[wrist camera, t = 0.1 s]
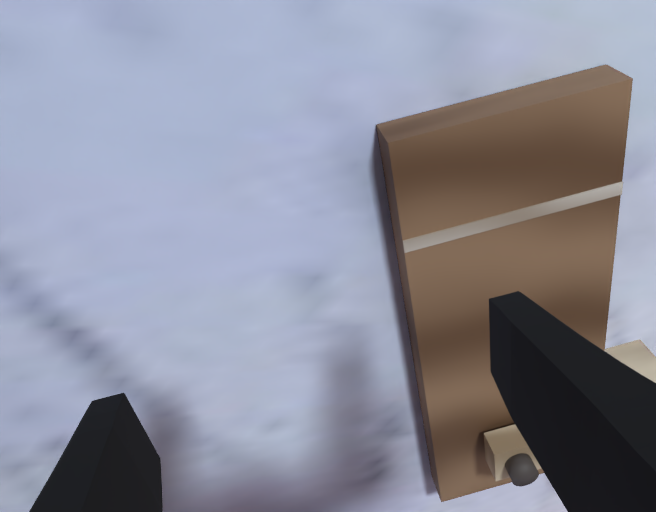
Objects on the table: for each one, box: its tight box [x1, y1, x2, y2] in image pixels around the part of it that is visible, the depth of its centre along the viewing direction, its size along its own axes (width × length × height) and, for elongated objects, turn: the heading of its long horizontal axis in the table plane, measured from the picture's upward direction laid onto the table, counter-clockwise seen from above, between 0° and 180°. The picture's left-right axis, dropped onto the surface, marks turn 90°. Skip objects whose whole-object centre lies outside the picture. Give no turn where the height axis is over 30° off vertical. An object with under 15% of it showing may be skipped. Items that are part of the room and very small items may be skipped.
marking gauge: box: [484, 340, 656, 486], centre depth 27 cm, size 4×8×6 cm, turn 101°
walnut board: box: [376, 65, 633, 502], centre depth 25 cm, size 20×8×2 cm, turn 11°
